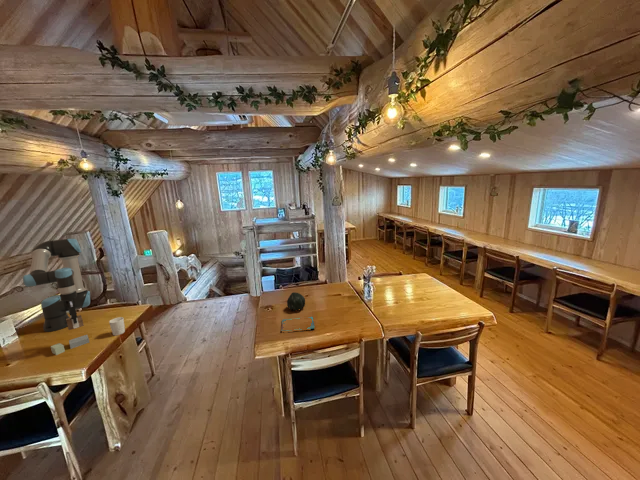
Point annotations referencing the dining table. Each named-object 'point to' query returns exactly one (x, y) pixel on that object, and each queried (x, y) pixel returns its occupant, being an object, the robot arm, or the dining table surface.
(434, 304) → the dining table surface
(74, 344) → the grey slab
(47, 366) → the dining table surface
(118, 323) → the white cup
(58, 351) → the sage block
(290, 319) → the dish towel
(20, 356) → the dining table surface
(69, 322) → the walnut block
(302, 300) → the squash
